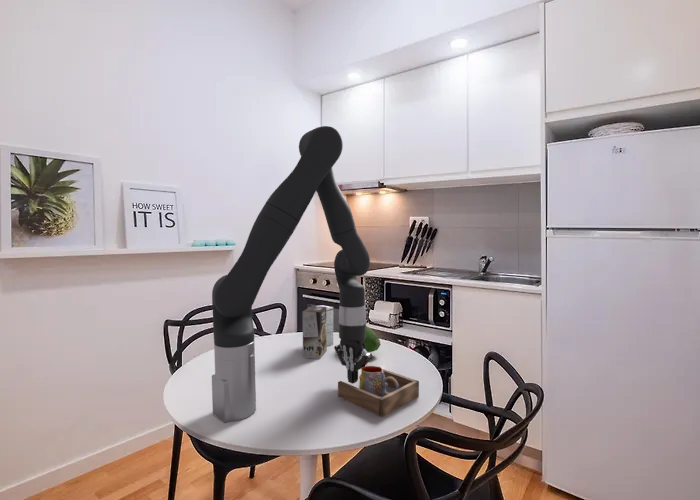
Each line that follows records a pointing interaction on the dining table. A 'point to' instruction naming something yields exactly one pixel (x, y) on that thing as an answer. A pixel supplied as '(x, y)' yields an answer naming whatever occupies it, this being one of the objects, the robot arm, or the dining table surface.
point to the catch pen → (386, 403)
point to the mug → (375, 380)
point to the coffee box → (314, 332)
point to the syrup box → (329, 324)
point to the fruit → (371, 340)
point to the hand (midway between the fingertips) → (352, 382)
